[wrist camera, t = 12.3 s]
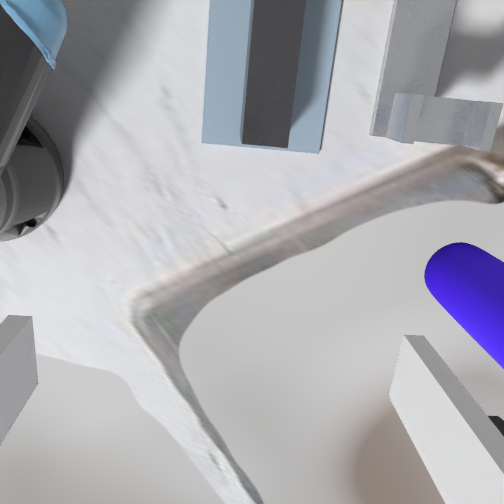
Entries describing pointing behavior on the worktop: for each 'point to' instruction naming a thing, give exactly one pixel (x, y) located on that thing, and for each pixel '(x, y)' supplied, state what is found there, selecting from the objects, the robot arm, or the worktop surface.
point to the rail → (271, 71)
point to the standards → (426, 83)
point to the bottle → (471, 292)
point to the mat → (233, 73)
